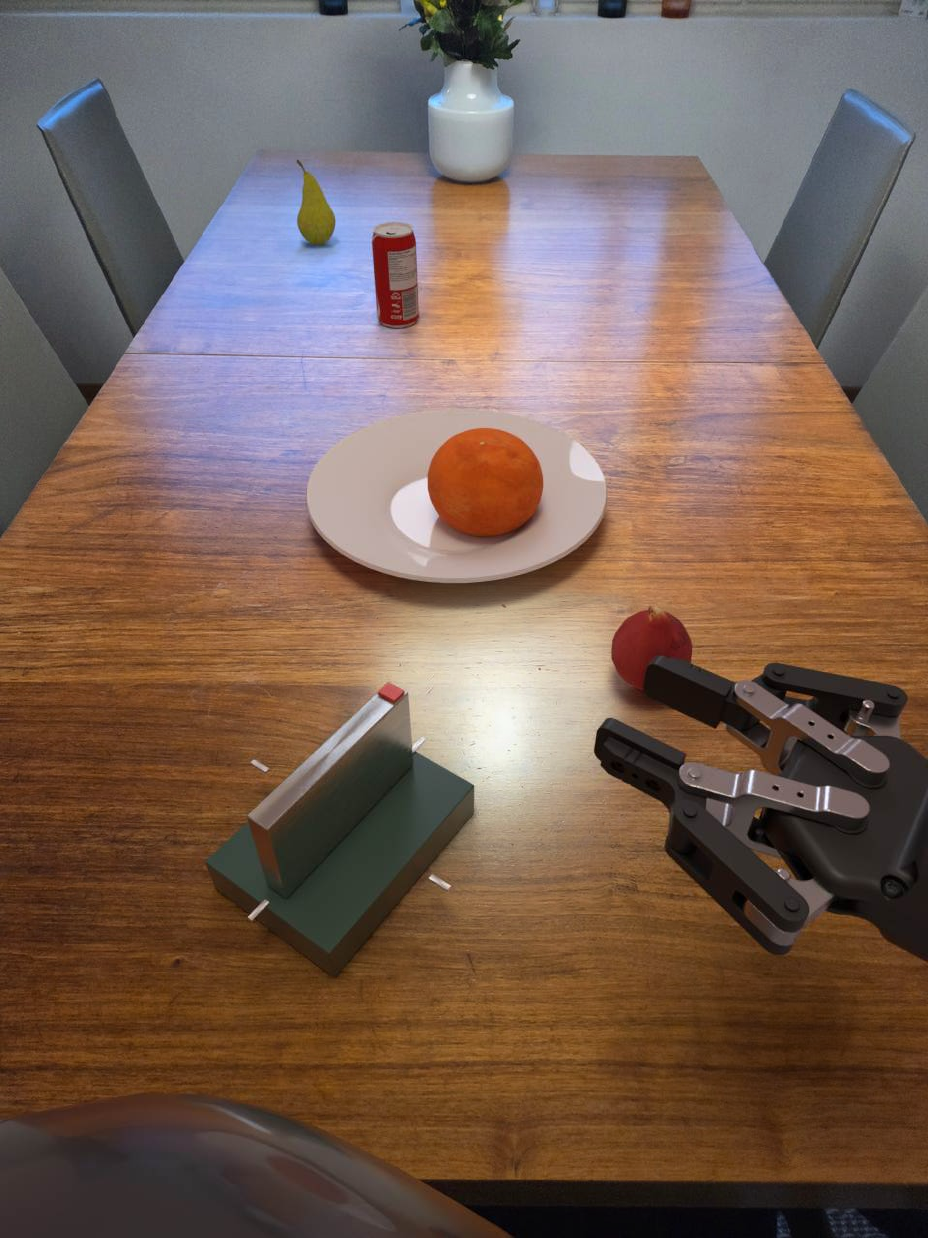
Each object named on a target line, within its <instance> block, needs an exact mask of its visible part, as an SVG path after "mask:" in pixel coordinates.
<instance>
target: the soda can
mask: <svg viewBox="0 0 928 1238" xmlns="http://www.w3.org/2000/svg"><path fill="white" fill-rule="evenodd" d="M371 249H372V263H373V276H374V288H375V290H374V291H375V303H376V317H377V320H378V321H379V322H380V323H381V325H383V326H384V327H387V328H392V329H402V328H408V327H410V326H413V325H414V324H415V323H416V322H417V321H418V320H419V318H420V309H419V308H420V307H419V284H418V283H419V282H418V262H417V260H418V259H417V239H416V236H415V233H414V227H413V226H412V225H411V224H409V223H406V222H401V221H389V222H388V221H387V222H382V223H379V224H377V225H376V226H374V227H373V233H372V239H371Z"/></svg>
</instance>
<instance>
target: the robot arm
mask: <svg viewBox="0 0 928 1238" xmlns="http://www.w3.org/2000/svg"><path fill="white" fill-rule="evenodd" d="M642 691H643V693H644V694H645V695H646V696H647V697H648V698H649V699H650V700H653V701H655V702H658V703H659V704H662V705H664V706H665V707H668V708H670V709H672V710H675V711H676V712H679V713H681V714H683V715H685V716H686V717H688V718H691V719H693V720H695V721H697V722H700V723H701V724H704V725H705V726H709V727H710V728H713V729H714V730H717V729H718V727H719V726H720V724H721V723H723V728H724V730H725V731H726V732H727V733H728V734H729V735H731V736H732V737H733V738H734V739H736V740H737V741H739V743H741V744H743V745H744V746H745V747H746V748H748V749H750V750H751V751H752V752H753V753H755V754H756V755H757V756H758V757H759V759H760V763H761V765H762V767H763V768H764V769H765V770H766V771H767V772H768V773H767V772H764V771H760V770H756V769H747V770H745V771H743V772H741V773H736V772H732V771H728V770H725V769H720V768H718V767H714V766H710V765H706V764H703V763H699V762H694V761H689V762H685V761H686V757H687V753H685V752H684V751H681V750H679V749H678V748H676V747H674V746H672V745H669V744H668V743H665V742H664V741H662V740H659V739H658V738H655V737H653V736H651V735H649V734H647V733H645V732H643V731H641V730H639V729H637V728H635V727H632V726H631V725H629V724H627V723H625V722H623V721H621V720H619V719H617V718H614V717H607V718H605V719H604V721H603V722H602V723H601V724H600V726H599V727H598V729H596V734H595V740H594V746H593V754H594V756H595V757H596V759H597V760H599V761H600V767H601V768H602V769H603V770H604V771H605V772H606V774H608V775H610V776H611V777H613V778H615V779H617V780H619V781H620V780H621V782H623V783H625V784H627V785H630V786H631V787H633V788H634V789H636V790H638V791H640V792H642V793H644V794H646V795H647V796H650V797H651V798H653V799H655V800H657V801H659V802H660V803H662V804H663V805H664V806H665V808H666V809H667V810H668V811H667V812H668V813H669V818H668V820H669V821H668V828H667V835H666V837H665V841H664V851H665V853H666V854H667V856H668V857H669V858H670V859H671V860H673V862H674V863H675V864H677V866H679V867H680V869H682V871H683V872H685V873H686V875H688V876H689V877H690V878H691V880H693V881H694V882H695V883H696V884H697V885H698V886H699V887H700V888H701V889H702V890H703V891H704V892H705V893H706V894H707V896H709V897H710V898H711V899H712V900H713V901H714V902H715V903H717V904H718V905H719V907H721V909H722V910H723V911H725V912H726V913H727V915H728V916H730V917H731V918H732V919H733V920H734V921H735V922H736V923H737V924H738V925H739V926H740V927H741V928H742V929H743V930H744V931H745V932H746V933H747V934H748V935H749V936H750V937H751V938H752V939H753V940H754V941H755V942H756V943H757V944H759V946H761V947H762V948H763V949H764V951H766V952H768V954H771V955H774V956H784V955H788V953H790V952H791V950H792V949H793V946H794V944H795V943H796V942H797V940H798V938H799V937H800V935H801V933H802V931H803V930H804V929H806V928H807V926H809V925H810V924H811V923H813V922H814V921H815V920H816V919H817V918H818V917H820V916H821V915H822V914H823V913H824V912H827V913H831V914H833V915H839V916H849V917H855V918H859V919H862V920H864V921H867V922H868V923H870V924H872V925H873V926H874V927H876V928H877V929H878V931H879V933H880V935H881V936H882V938H883V939H884V940H886V941H887V942H889V943H890V944H892V945H894V946H896V947H898V948H900V949H901V950H903V951H905V952H907V953H909V954H911V955H913V956H914V957H916V958H918V959H920V960H922V961H924V962H926V963H927V964H928V758H927V757H925V756H924V755H923V754H922V753H920V752H919V751H918V750H917V749H916V748H915V747H914V746H913V745H912V744H910V743H909V742H907V741H906V740H904V739H902V738H901V737H902V736H901V725H900V724H901V723H900V717H901V715H902V712H903V711H904V708H905V707H906V705H907V702H908V700H909V697H908V694H907V693H906V692H905V691H904V689H902V688H901V687H899V686H897V685H893V684H889V683H883V682H878V681H873V680H868V679H863V678H858V677H853V676H847V675H843V674H837V673H833V672H827V671H822V670H818V669H812V668H807V667H802V666H796V665H790V664H786V663H782V662H770V663H767V664H766V665H765V666H764V668H763V672H762V673H761V674H760V675H758V676H757V677H755V678H753V679H751V680H747V679H743V680H739V681H737V682H736V681H732V680H730V679H728V678H726V677H723V676H721V675H719V674H716V673H714V672H712V671H710V670H707V669H705V668H702V667H700V666H698V665H696V664H693V662H691V663H690V662H687V661H685V660H683V659H678V658H671V657H670V658H667V657H665V656H661V655H658V656H655V657H654V659H653V660H652V661H651V662H650V664H649V665H648V666H647V668H646V673H645V678H644V684H643V690H642ZM787 692H789V693H794V694H800V695H804V696H808V697H812V698H811V699H803V698H797V697H792V696H787ZM762 722H763V723H764V724H763V723H762ZM765 724H766V725H767V726H768V727H767V726H766V725H765ZM760 809H761V811H760V814H759V816H758V817H756V816H755V815H756V812H757V811H758V810H760ZM754 851H755V852H757V853H761V854H764V855H768V856H770V857H771V856H772V857H774V858H778V859H781V860H783V862H784V863H785V865H786V867H787V868H788V869H789V870H788V869H786V868H784V867H780V868H778V869H773V868H772V867H771V866H769V864H768V863H766V862H765V861H764V860H763V859H761V858H760V857H759V856H758V855H757V854H756V853H755V852H754ZM792 875H793V876H794V877H792ZM0 1238H515V1236H514V1235H511V1234H510V1233H509V1232H507V1231H505V1230H504V1229H502V1228H501V1227H500V1226H498V1225H496V1224H495V1223H493V1222H491V1221H489V1220H488V1219H486V1218H485V1217H483V1216H482V1215H480V1214H477V1212H474V1211H473V1210H471V1209H469V1208H468V1207H465V1206H464V1205H462V1204H461V1203H459V1202H458V1201H456V1200H454V1199H452V1198H451V1197H449V1196H447V1195H445V1194H444V1193H442V1192H441V1191H439V1190H438V1189H435V1188H434V1187H432V1186H431V1185H429V1184H428V1183H425V1182H423V1181H422V1180H421V1179H418V1178H417V1177H415V1176H414V1175H411V1173H409V1172H407V1171H405V1170H404V1169H402V1168H400V1167H398V1166H396V1165H395V1164H393V1163H390V1162H388V1161H387V1160H385V1159H383V1158H381V1157H378V1156H377V1155H375V1154H373V1153H371V1152H369V1151H367V1150H365V1149H364V1148H361V1147H359V1146H357V1145H355V1144H353V1143H351V1142H349V1141H347V1140H345V1139H343V1138H341V1137H339V1136H337V1135H335V1134H333V1133H331V1132H329V1131H327V1130H324V1129H323V1128H321V1127H319V1126H317V1125H313V1124H312V1123H309V1122H307V1121H304V1120H301V1119H299V1118H296V1117H294V1116H291V1115H289V1114H285V1113H283V1112H280V1111H278V1110H275V1109H274V1108H273V1109H272V1108H270V1107H267V1106H262V1105H257V1104H253V1103H249V1102H245V1101H241V1100H236V1099H231V1098H227V1097H223V1096H217V1095H214V1094H213V1095H212V1094H207V1093H175V1092H174V1093H172V1092H170V1093H169V1092H168V1093H167V1092H161V1093H160V1092H159V1093H157V1092H153V1093H152V1092H150V1093H149V1092H148V1093H147V1092H145V1093H144V1092H143V1093H139V1092H138V1093H134V1094H133V1093H132V1094H127V1095H121V1096H115V1097H110V1098H109V1097H108V1098H103V1099H97V1100H91V1101H87V1102H85V1101H84V1102H81V1103H75V1104H69V1105H63V1106H57V1107H52V1108H48V1109H44V1110H40V1111H31V1112H24V1113H20V1114H15V1115H11V1116H6V1117H5V1116H4V1117H0Z"/></svg>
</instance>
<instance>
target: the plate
mask: <svg viewBox="0 0 928 1238" xmlns="http://www.w3.org/2000/svg"><path fill="white" fill-rule="evenodd" d="M317 461H318V462H316V464H315V466H314V467H313V469H312V471H311V473H310V476H309V478H308V482H307V486H306V489H305V508H306V511H307V514H308V518H309V520H310V522H311V524H312V525H313V527H314V529H315V530H316V532H317V533H318V534H319V536H320V537H321V538H322V539H323V540H324V541H325V542H326V543H327V544H328V545H329V546H331V547H332V548H333V549H334V550H335V551H337V552H338V553H340V554H341V555H342V556H344V557H346V558H348V559H349V560H351V561H353V562H355V563H357V564H359V565H361V566H364V567H366V568H369V569H371V570H374V571H377V572H379V573H382V574H386V575H390V576H393V577H398V578H402V579H406V580H407V579H408V580H411V581H420V582H425V583H426V582H427V583H439V584H468V583H469V584H470V583H482V582H490V581H497V580H498V581H499V580H501V579H508V578H512V577H516V576H519V575H524V574H527V573H530V572H533V571H536V570H539V569H542V568H544V567H546V566H549V565H551V564H553V563H555V562H557V561H559V560H561V559H563V558H564V557H566V556H568V555H569V554H571V553H572V552H574V551H575V550H577V549H578V548H580V547H581V546H582V544H584V543H585V542H586V541H587V540H588V539H589V538H590V537H591V536H592V535H593V534H594V532H595V531H596V530H597V529H598V527H599V526H600V524H601V522H602V520H603V518H604V516H605V513H606V509H607V505H608V487H607V482H606V478H605V476H604V473H603V470H602V469H601V467H600V465H599V463H598V462H597V461H596V459H595V458H594V457H593V456H592V455H591V453H590V452H589V451H588V450H587V449H586V448H585V447H584V446H583V445H581V444H580V443H579V442H578V441H576V440H575V439H573V438H572V437H571V436H569V435H567V434H566V433H564V432H562V431H560V430H558V429H557V428H554V427H552V426H550V425H547V424H545V423H542V422H540V421H537V420H534V419H531V418H527V417H524V416H521V415H518V414H517V415H516V414H511V413H507V412H504V411H503V412H501V411H496V410H487V409H479V408H478V409H477V408H439V409H429V410H422V411H414V412H409V413H405V414H401V415H396V416H391V417H389V418H385V419H382V420H379V421H376V422H374V423H371V424H368V425H367V426H366V425H365V426H364V427H362V428H360V429H357V430H355V431H354V432H352V433H350V434H348V435H347V436H345V437H344V438H342V439H341V440H339V441H338V442H336V443H335V444H334V445H333V446H331V447H330V448H329V449H328V450H327V451H326V452H325V453H324V454H323V455H322V456H321V457H320V459H319V460H317Z"/></svg>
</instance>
